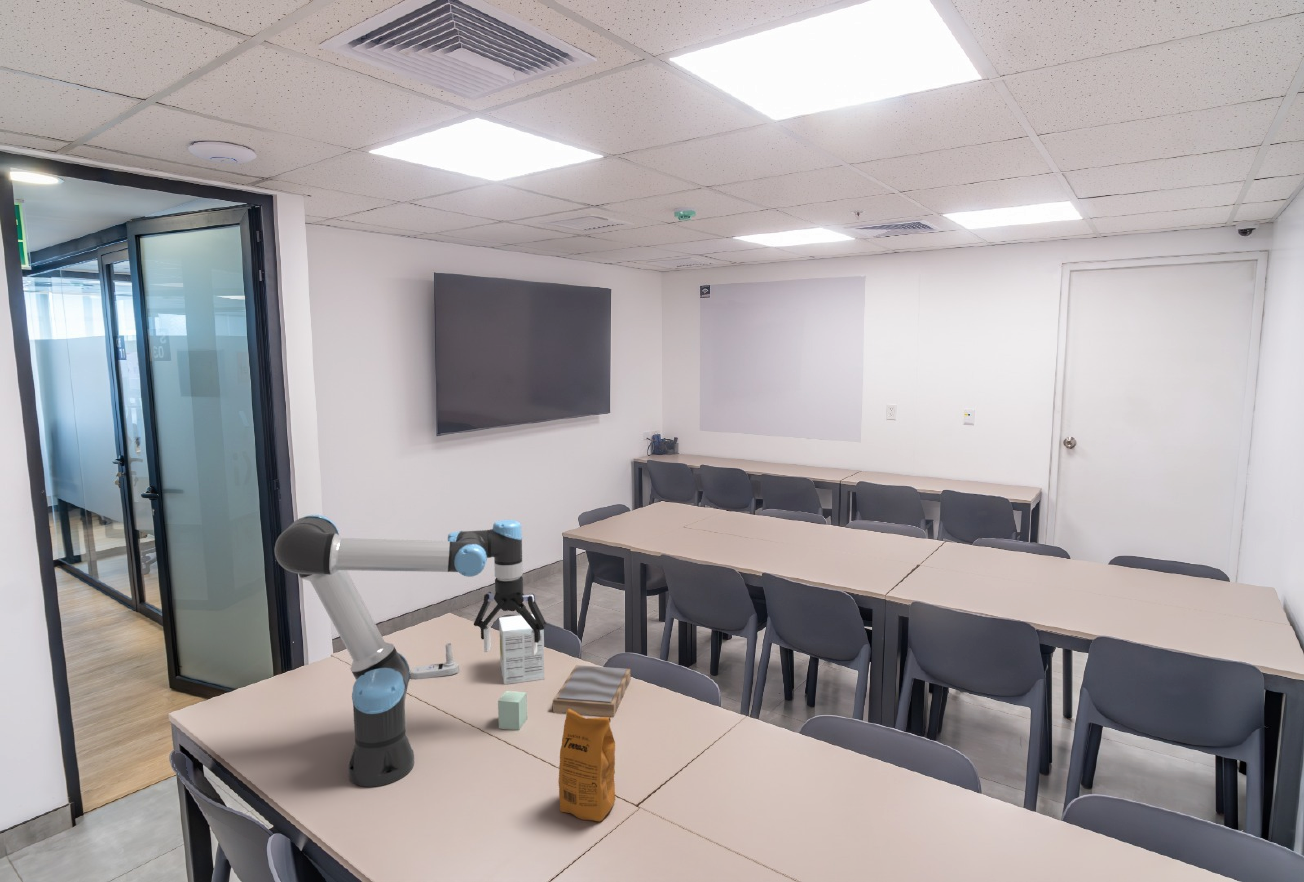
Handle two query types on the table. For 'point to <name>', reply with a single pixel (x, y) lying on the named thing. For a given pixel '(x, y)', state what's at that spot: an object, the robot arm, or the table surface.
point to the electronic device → (437, 667)
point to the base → (593, 691)
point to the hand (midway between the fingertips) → (510, 651)
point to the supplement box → (519, 651)
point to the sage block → (512, 710)
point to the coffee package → (587, 767)
